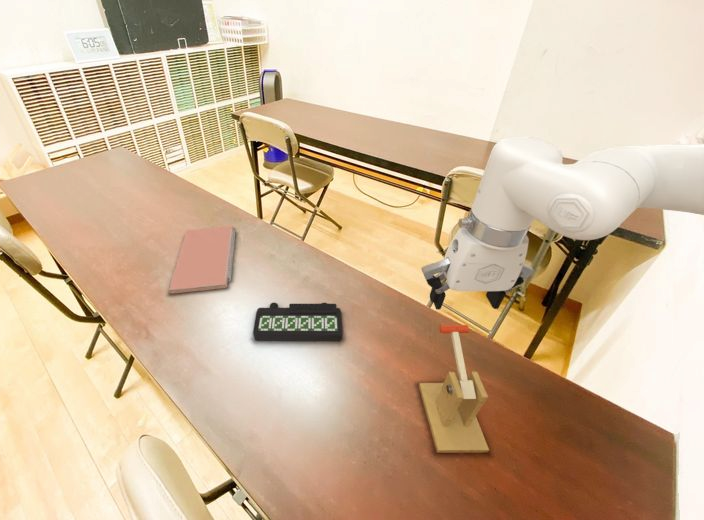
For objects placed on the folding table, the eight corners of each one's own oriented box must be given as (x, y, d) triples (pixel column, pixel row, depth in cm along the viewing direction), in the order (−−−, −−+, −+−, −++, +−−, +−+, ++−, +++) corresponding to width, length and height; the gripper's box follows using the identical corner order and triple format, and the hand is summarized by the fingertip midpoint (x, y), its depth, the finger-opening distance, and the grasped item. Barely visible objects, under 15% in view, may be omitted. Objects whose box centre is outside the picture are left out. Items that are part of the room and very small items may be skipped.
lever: (437, 325, 62) (442, 324, 60) (463, 325, 62) (469, 324, 59) (449, 397, 57) (455, 399, 55) (478, 397, 57) (484, 398, 55)
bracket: (418, 385, 68) (430, 352, 60) (461, 385, 68) (479, 351, 60) (436, 452, 58) (454, 422, 51) (487, 452, 58) (512, 422, 50)
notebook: (230, 287, 91) (229, 283, 90) (170, 294, 90) (168, 289, 89) (236, 229, 113) (235, 224, 112) (187, 233, 112) (186, 229, 111)
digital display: (339, 299, 83) (342, 334, 75) (339, 307, 85) (342, 342, 77) (258, 299, 83) (252, 334, 76) (259, 307, 85) (254, 341, 78)
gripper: (443, 243, 43) (419, 321, 53) (575, 241, 43) (525, 320, 53) (427, 211, 49) (408, 286, 59) (542, 209, 49) (503, 285, 59)
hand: (463, 302), depth 56 cm, fingers open, 9 cm apart
